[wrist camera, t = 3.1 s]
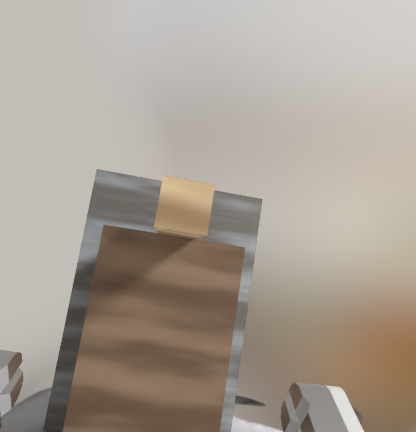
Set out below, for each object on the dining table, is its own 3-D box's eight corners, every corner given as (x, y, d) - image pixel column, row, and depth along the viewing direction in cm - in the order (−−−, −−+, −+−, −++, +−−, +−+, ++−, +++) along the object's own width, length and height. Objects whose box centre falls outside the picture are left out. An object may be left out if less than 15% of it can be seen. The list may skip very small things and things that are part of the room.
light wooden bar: (212, 236, 17) (221, 175, 17) (148, 226, 16) (159, 163, 17) (190, 240, 33) (195, 208, 33) (157, 235, 32) (163, 203, 33)
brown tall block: (273, 588, 23) (320, 170, 27) (-59, 581, 20) (48, 117, 24) (226, 435, 42) (258, 201, 46) (49, 420, 39) (100, 172, 43)
